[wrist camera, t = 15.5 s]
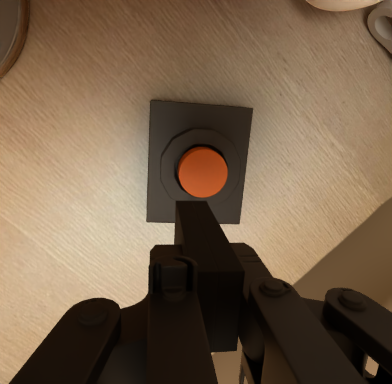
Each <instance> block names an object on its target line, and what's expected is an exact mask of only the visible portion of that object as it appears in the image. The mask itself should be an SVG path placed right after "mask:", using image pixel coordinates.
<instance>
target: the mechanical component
mask: <svg viewBox="0 0 392 384" xmlns="http://www.w3.org/2000/svg"><path fill="white" fill-rule="evenodd" d="M386 16H389V17H391V18H392V0H383V1H382V2H381V3H380V4H379V5H378V6H377V7H376V8H375V9H374V10H373V11H372V12H371V13H370V14H369V16H368V27H369V30H370V32H371V34H372V35H373V36H374V37H375V38H376V39H377V40H378V41H379V42H380V43H381V44H382V45H383V46H384V47H385V48H386V49H387V50H388V51H390V52H391V53H392V25H390V23H389V22H388V21H387V19H386Z"/></svg>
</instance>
